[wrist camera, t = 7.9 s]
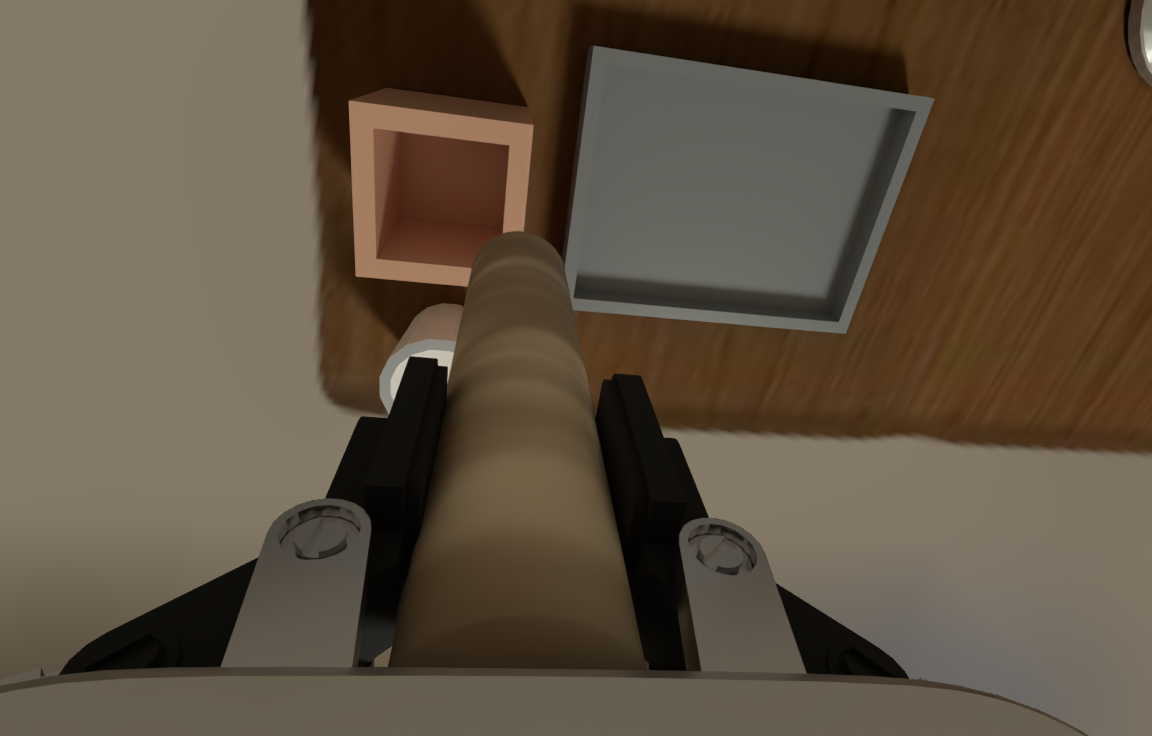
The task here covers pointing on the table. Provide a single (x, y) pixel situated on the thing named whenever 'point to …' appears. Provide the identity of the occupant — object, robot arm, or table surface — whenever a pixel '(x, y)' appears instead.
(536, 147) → the table surface
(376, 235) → the holder
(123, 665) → the robot arm
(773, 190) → the tray
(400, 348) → the cream short cylinder
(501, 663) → the dowel
